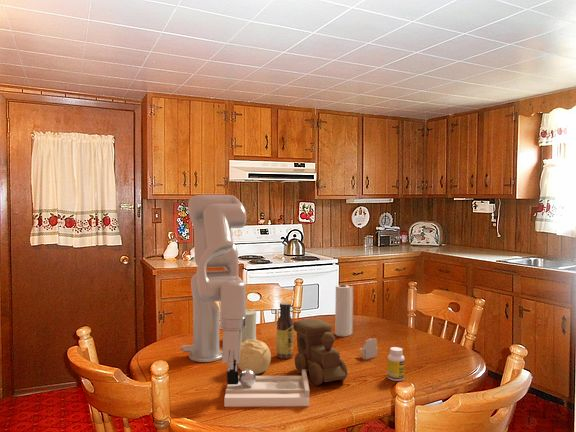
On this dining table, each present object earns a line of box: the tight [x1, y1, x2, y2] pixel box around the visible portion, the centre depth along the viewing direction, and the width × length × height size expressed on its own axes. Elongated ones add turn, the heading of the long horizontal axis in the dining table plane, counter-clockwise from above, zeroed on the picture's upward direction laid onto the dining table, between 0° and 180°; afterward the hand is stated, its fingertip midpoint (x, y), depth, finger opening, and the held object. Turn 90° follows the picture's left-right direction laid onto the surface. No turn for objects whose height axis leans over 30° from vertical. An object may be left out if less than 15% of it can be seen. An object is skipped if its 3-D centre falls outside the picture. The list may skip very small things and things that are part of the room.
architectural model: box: [359, 337, 379, 360], centre depth 172 cm, size 3×7×7 cm, turn 124°
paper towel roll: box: [334, 284, 354, 337], centre depth 198 cm, size 7×6×21 cm
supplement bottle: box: [386, 346, 406, 382], centre depth 151 cm, size 5×5×10 cm
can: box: [242, 308, 257, 342], centre depth 191 cm, size 9×9×12 cm
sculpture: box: [238, 339, 272, 375], centre depth 156 cm, size 11×12×11 cm
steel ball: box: [239, 369, 257, 387], centre depth 137 cm, size 5×5×5 cm
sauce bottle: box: [275, 302, 294, 360], centre depth 171 cm, size 7×6×20 cm
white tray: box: [223, 370, 311, 408], centre depth 138 cm, size 24×16×4 cm, turn 92°
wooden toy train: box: [292, 318, 348, 386], centre depth 152 cm, size 20×11×17 cm, turn 26°
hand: (232, 383), depth 137 cm, fingers closed
